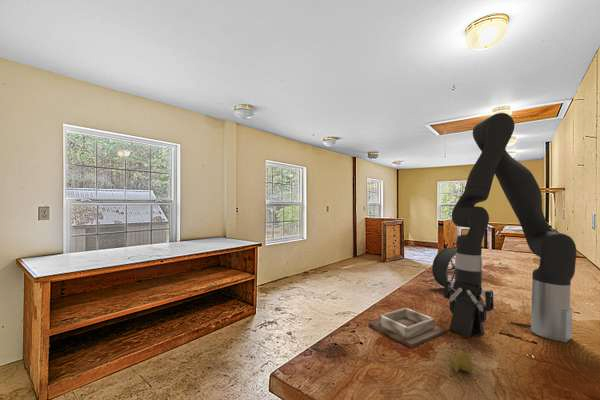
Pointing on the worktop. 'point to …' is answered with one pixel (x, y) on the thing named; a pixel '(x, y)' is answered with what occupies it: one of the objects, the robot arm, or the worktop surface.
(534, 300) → the robot arm
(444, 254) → the wheel rim
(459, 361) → the knob
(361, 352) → the worktop surface
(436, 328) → the collar stand
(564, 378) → the worktop surface
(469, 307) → the phone stand
